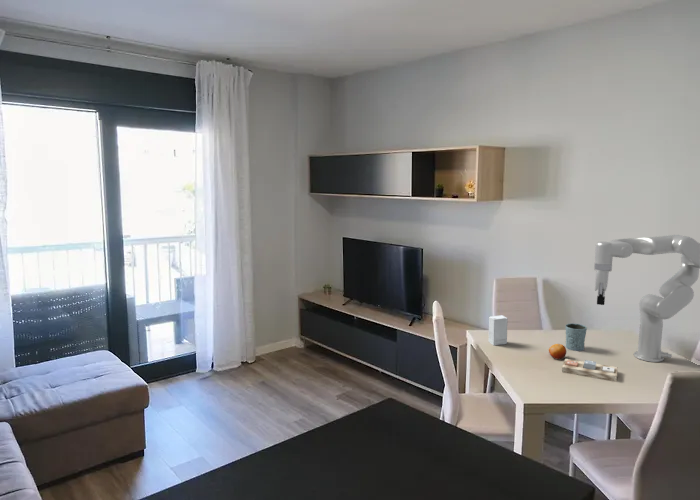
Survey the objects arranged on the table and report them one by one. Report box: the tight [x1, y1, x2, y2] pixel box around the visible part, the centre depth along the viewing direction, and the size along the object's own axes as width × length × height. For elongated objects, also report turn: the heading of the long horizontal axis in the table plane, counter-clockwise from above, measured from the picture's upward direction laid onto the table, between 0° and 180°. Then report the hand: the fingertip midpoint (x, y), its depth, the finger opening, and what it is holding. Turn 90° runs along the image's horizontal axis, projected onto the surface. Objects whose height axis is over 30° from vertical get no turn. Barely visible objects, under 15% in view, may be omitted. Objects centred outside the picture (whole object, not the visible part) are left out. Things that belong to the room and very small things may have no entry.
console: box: [561, 358, 618, 382], centre depth 223 cm, size 22×12×2 cm, turn 59°
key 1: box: [602, 366, 614, 373], centre depth 219 cm, size 5×5×3 cm
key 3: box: [566, 360, 578, 367], centre depth 227 cm, size 5×5×3 cm
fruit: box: [548, 343, 567, 360], centre depth 241 cm, size 8×8×8 cm
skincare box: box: [488, 314, 509, 346], centre depth 262 cm, size 8×6×15 cm
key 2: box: [583, 359, 597, 370], centre depth 223 cm, size 5×5×3 cm
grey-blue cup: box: [565, 322, 588, 352], centre depth 254 cm, size 10×10×12 cm
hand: (600, 304), depth 238 cm, fingers closed
